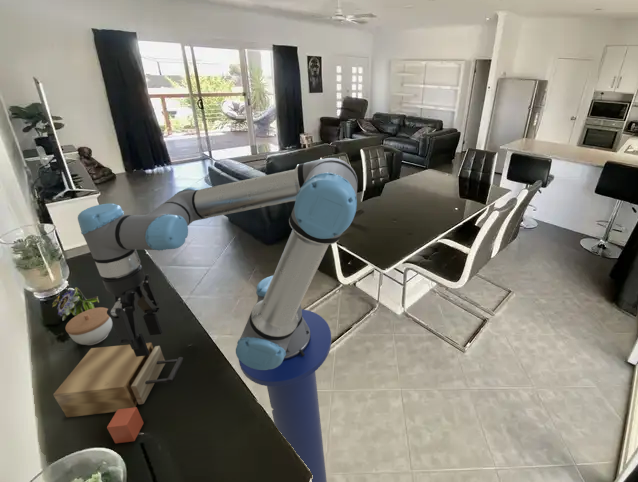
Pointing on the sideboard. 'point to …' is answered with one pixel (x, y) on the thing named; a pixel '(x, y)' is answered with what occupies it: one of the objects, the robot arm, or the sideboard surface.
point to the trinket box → (90, 326)
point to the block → (125, 425)
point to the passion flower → (73, 303)
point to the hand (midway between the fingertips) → (149, 343)
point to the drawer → (150, 374)
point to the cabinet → (100, 382)
